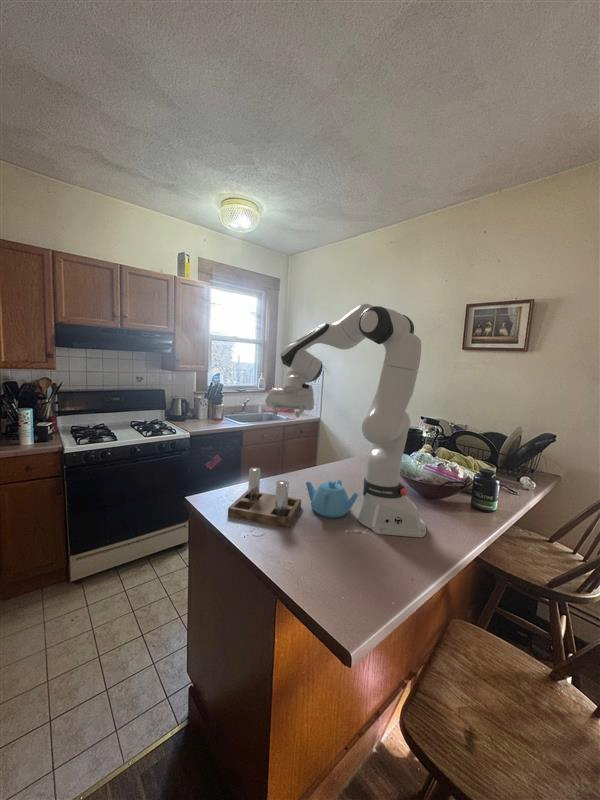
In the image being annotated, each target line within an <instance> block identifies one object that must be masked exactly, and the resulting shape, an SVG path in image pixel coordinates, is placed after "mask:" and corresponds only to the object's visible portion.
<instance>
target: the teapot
mask: <svg viewBox="0 0 600 800" xmlns="http://www.w3.org/2000/svg"><path fill="white" fill-rule="evenodd" d="M342 482H343V480H341V479H338V480H337V482H336V481H334V480H328V481H327V482H322V483H321V484H320V485H319V486H318V487H317V488H316V489H315V487H314V485H313V484H312V482H311V481H306V482H305V485H306V490H307V493H308V496H309V500H310V501H311V502H310V505H311V508H312V510H313V511H314V512H315V513H316V514H317V515H320V516H322V517H325V518H330V519H335V518H336V519H337V518H342V517H343V516H345V515H346V514H347V513H348V512H349V511H350V510H351V509H352V507H353V505H354V504H355V502H356V500H357V498H358V497H359V493H357V492H353V494H352V495H351V497H350V498H349V496H348V494H347V490H346V489H345V488H344V487H343V483H342Z"/></svg>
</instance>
